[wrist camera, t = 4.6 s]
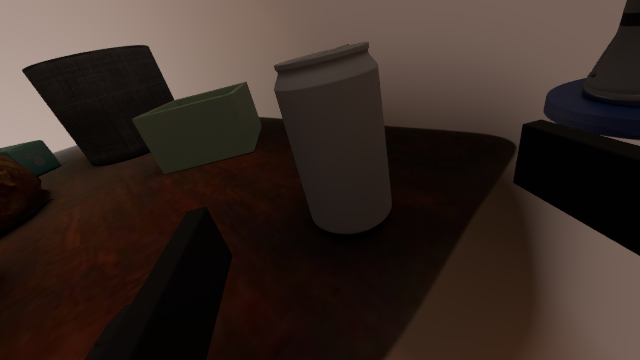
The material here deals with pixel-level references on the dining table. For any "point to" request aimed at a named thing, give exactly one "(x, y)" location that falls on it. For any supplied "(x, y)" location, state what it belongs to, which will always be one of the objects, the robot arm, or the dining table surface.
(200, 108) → the waste bin
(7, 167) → the bread
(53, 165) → the box
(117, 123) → the planter
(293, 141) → the beverage can
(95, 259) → the dining table surface
